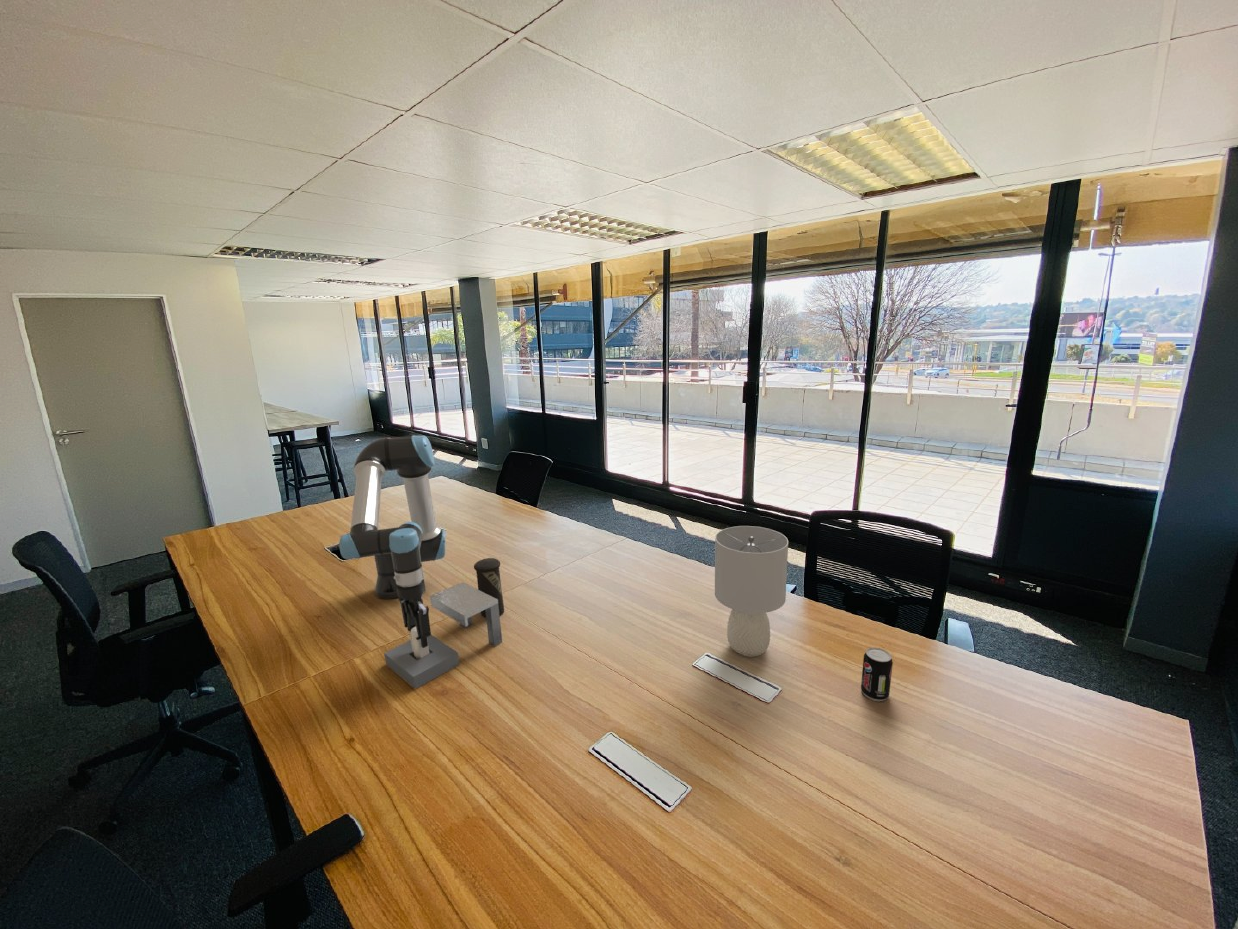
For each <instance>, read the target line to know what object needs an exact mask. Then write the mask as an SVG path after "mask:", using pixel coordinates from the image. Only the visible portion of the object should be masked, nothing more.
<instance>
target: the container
mask: <svg viewBox="0 0 1238 929" xmlns="http://www.w3.org/2000/svg"><path fill="white" fill-rule="evenodd" d="M500 566H501V562H500V560H499V559H497V558H493V557H488V558H483V559H479V560H478V561H477V562H475V563H474V565H473V569H474V571H476V572H475V573H476V581H477V589H478V590H480V591H482V592H484V593H486V594H488V595H490V596H492V597H494V598H496V599H498V606H499V615H500V616H502V615H503V614H504V613H505V606H504V597H503V590H502V580H501V573H500ZM479 614H480V616H481V617H483V618H484V619H486V612H485V610H483V611H481V612H479Z"/></svg>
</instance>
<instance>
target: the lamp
mask: <svg viewBox="0 0 1238 929" xmlns="http://www.w3.org/2000/svg"><path fill="white" fill-rule="evenodd" d="M788 550H789V540H788V537H786V536H785V535H784V534H783V533H782V532H779V531H776V530H773V529H771V528H766V527H762V526H755V525H754V526H752V525H751V526H750V525H738V526H732V527H730V526H729V527H727V528H724V529H721V530H719V531H718V532H717V533H715V538H714V597H715V599H716V600H717V601H718V602H719V603H720V604H722V605H723V606H725V607H727V608H729V609H730V610H731V611H730V613H729V615H728V621H727V627H726V636H727V637H726V638H727V642H728V645H729V647H730V648H731V649H732V650H733V651H734V652H735V653H738V654H739V655H741V656H743V657H744V656H745V657H749V658H751V657H754V658H755V657H758V656H760V655H762V654H764V653H765V652H767V650H768V648H769V646H770V641H771V625H770V620H769V616H768V614H767V613H772V612H775V611H776V610H778V609H781V608H782V607H783V606H784V605H785V603H786V601H787V600H786V596H787V594H786V593H787V580H788V579H787V577H788V576H787V575H788V574H787V573H788V554H789V551H788Z"/></svg>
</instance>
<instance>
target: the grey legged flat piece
mask: <svg viewBox="0 0 1238 929" xmlns="http://www.w3.org/2000/svg"><path fill="white" fill-rule="evenodd" d="M429 599H430V604H431V605H430V606H431V607H432V608H434V609H435V610H437V611H439V612H440V613H442V614H444V615H445V616H448V617H449V618H450V619H452V620H454V621H456V622H458V623H459V627H462V628H463V629H467V628H469V627H470V626H472V625H473V620H472V618H473V616H475V615H477V614H480V612H481V611H483V610H485V612H486V618H485V620H486V627H487V630H486V631H487V636H488V644H489V645H491V646H493V647H496V646H498V645H499V644H502V643H503V636H502V626H501V615H499V606H498V599H496V598H494V597H492V596H490V595H488V594H486V593H484V592H482V591H480V590H478V588H475V587H474V586H472V585H470V584H469V583H468V584H467V583H466V582H464V581H461V582H459V583H457V584H455V585H452V586H450V587H448V588H445V589H443V590H440V591H438V592H437V593H436V592H435V593H434V594H431V595H430V596H429Z"/></svg>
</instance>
